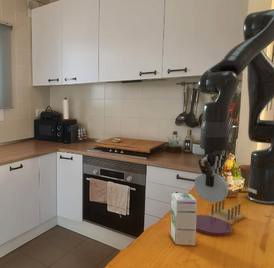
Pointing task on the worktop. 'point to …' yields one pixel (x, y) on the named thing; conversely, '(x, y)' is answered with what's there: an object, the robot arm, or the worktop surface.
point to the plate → (211, 188)
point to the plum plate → (212, 226)
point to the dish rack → (226, 213)
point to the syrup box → (183, 218)
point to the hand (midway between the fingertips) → (210, 185)
